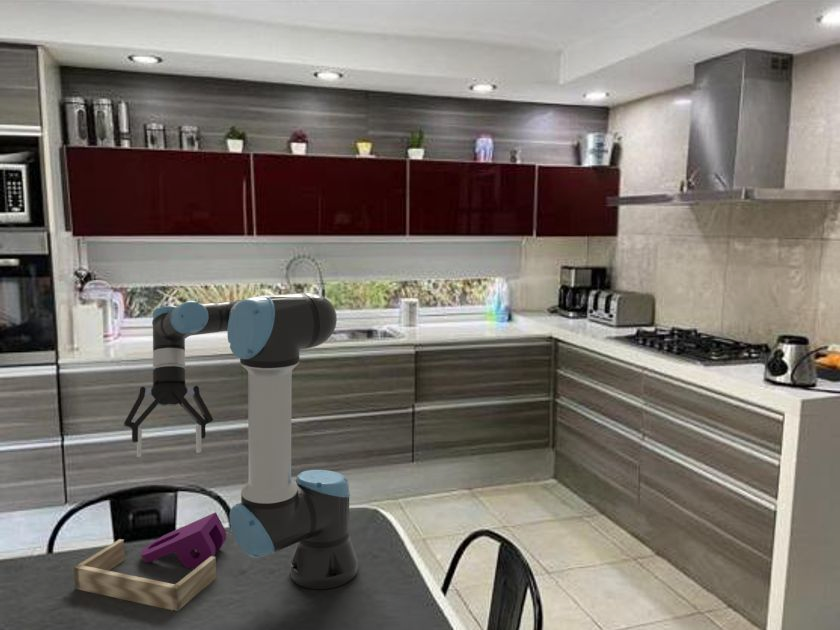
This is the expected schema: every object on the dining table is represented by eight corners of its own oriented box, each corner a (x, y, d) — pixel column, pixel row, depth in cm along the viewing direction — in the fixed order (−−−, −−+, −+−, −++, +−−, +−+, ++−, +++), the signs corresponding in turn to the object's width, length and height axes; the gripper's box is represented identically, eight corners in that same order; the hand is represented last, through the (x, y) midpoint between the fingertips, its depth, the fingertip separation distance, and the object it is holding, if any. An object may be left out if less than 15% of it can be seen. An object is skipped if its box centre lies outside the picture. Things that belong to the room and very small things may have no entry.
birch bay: (216, 577, 143) (215, 557, 142) (177, 611, 130) (176, 588, 129) (120, 558, 150) (119, 539, 150) (75, 588, 138) (73, 567, 137)
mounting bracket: (150, 591, 148) (217, 562, 146) (133, 560, 147) (200, 530, 145) (168, 569, 157) (231, 542, 155) (152, 540, 156) (215, 512, 154)
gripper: (216, 370, 168) (218, 452, 163) (112, 371, 156) (111, 459, 150) (223, 364, 162) (225, 449, 157) (115, 365, 149) (114, 456, 144)
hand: (169, 454), depth 153 cm, fingers open, 13 cm apart
